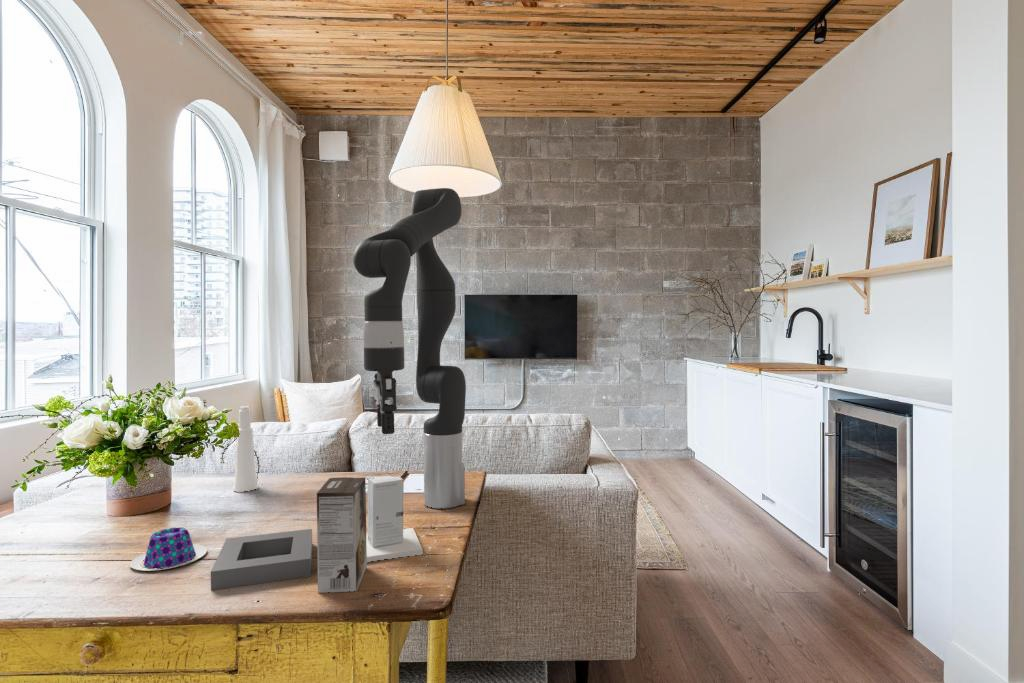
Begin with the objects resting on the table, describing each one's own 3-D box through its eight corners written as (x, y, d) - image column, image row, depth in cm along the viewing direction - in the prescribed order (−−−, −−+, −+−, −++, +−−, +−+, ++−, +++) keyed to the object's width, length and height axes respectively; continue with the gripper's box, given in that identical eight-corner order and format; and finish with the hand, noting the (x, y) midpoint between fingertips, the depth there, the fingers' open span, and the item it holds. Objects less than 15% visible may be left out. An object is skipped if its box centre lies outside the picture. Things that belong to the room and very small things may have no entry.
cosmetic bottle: (262, 488, 146) (261, 405, 145) (241, 493, 141) (240, 408, 140) (249, 484, 149) (248, 404, 149) (228, 490, 144) (226, 407, 144)
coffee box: (330, 569, 95) (329, 477, 95) (367, 567, 96) (367, 476, 95) (315, 594, 86) (314, 492, 86) (357, 592, 87) (356, 491, 86)
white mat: (412, 532, 112) (412, 527, 112) (422, 554, 101) (422, 549, 101) (352, 540, 109) (352, 535, 109) (355, 563, 97) (355, 558, 97)
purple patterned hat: (184, 543, 108) (184, 517, 108) (220, 555, 102) (220, 527, 102) (116, 565, 98) (115, 536, 98) (152, 580, 92) (152, 549, 92)
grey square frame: (312, 544, 107) (312, 528, 107) (310, 576, 92) (310, 558, 92) (226, 554, 102) (226, 538, 102) (210, 590, 88) (210, 571, 87)
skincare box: (373, 548, 102) (372, 483, 101) (366, 540, 106) (366, 478, 105) (405, 542, 105) (404, 479, 105) (397, 534, 109) (397, 473, 108)
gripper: (409, 345, 99) (410, 435, 99) (398, 344, 112) (400, 422, 112) (366, 346, 96) (368, 438, 97) (361, 344, 110) (362, 425, 110)
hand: (385, 429), depth 104 cm, fingers open, 8 cm apart
